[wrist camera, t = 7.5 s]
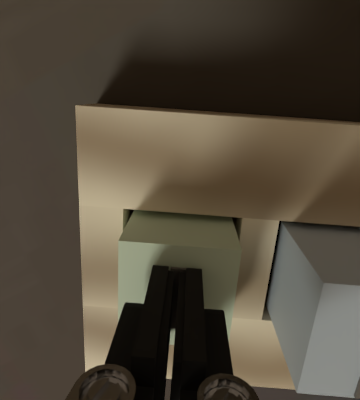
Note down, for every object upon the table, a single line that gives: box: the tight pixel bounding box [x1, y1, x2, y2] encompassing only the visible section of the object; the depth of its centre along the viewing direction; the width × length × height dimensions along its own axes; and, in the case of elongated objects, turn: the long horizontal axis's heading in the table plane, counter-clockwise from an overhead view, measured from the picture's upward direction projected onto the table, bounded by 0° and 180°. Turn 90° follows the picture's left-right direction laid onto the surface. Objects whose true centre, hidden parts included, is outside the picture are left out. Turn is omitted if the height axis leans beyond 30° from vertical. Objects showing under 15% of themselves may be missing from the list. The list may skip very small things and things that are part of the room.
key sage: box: [118, 210, 242, 345], centre depth 13 cm, size 4×4×4 cm
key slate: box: [266, 222, 360, 399], centre depth 11 cm, size 4×4×4 cm
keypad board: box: [75, 103, 360, 390], centre depth 14 cm, size 12×20×2 cm, turn 86°
